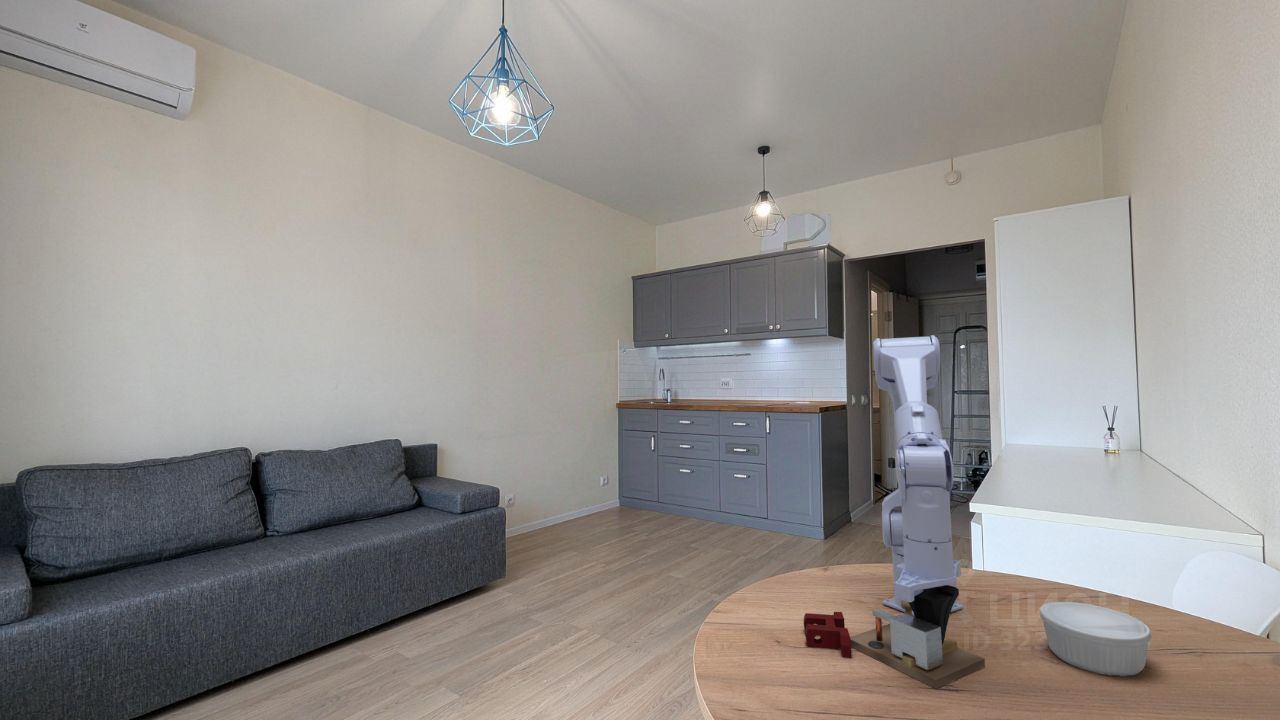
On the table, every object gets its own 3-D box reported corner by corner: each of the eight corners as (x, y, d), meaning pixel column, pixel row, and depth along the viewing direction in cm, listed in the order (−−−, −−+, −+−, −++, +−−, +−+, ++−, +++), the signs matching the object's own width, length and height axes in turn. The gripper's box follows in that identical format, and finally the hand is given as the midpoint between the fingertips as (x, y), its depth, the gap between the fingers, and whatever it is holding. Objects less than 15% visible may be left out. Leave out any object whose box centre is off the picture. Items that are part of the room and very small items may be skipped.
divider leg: (942, 663, 68) (940, 626, 68) (927, 670, 67) (925, 632, 67) (883, 637, 76) (882, 604, 76) (869, 642, 74) (867, 608, 74)
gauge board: (985, 666, 70) (982, 622, 70) (936, 688, 65) (933, 641, 65) (895, 628, 81) (893, 591, 81) (847, 645, 76) (845, 605, 77)
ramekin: (1135, 692, 63) (1131, 645, 64) (1026, 654, 73) (1023, 613, 73) (1167, 664, 69) (1164, 622, 70) (1062, 632, 79) (1060, 595, 79)
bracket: (850, 639, 73) (841, 609, 83) (806, 635, 74) (802, 607, 84) (851, 660, 73) (841, 628, 83) (807, 657, 74) (803, 626, 84)
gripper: (921, 522, 80) (927, 618, 79) (869, 541, 71) (874, 649, 70) (974, 531, 74) (981, 634, 73) (925, 553, 65) (931, 670, 64)
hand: (932, 643), depth 71 cm, fingers closed
